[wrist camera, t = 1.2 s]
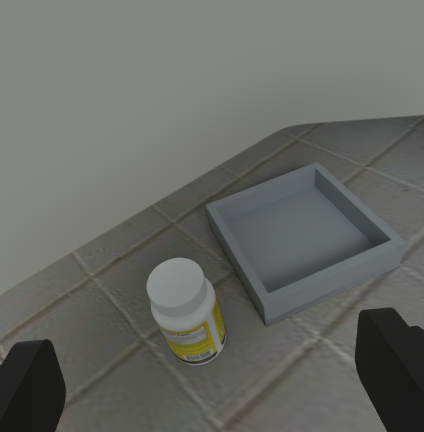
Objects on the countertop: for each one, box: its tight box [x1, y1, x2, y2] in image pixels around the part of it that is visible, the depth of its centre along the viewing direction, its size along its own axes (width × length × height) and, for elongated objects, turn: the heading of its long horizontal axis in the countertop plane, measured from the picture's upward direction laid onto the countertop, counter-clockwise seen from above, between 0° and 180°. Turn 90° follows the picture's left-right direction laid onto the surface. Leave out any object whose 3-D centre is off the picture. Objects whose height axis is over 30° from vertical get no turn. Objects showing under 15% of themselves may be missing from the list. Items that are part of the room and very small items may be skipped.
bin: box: [205, 162, 407, 326], centre depth 35 cm, size 13×13×3 cm
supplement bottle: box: [147, 258, 226, 365], centre depth 28 cm, size 5×5×8 cm
